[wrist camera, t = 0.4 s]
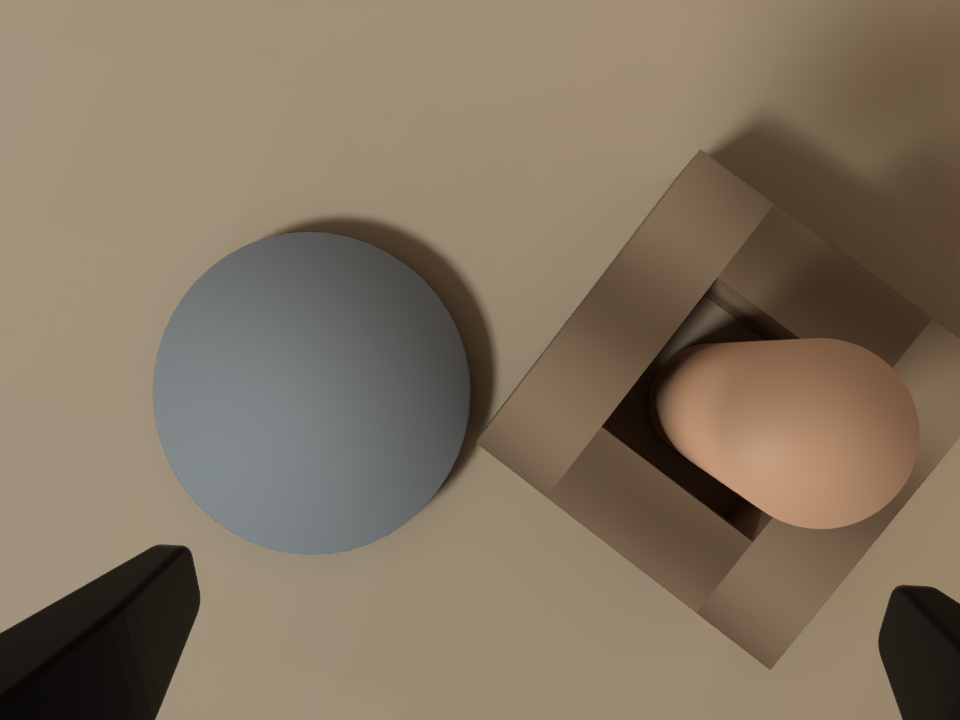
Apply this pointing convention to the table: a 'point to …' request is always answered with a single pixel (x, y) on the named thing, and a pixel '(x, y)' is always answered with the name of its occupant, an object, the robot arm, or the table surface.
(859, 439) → the post
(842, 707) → the table surface
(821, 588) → the pocket block
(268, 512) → the slate mat
